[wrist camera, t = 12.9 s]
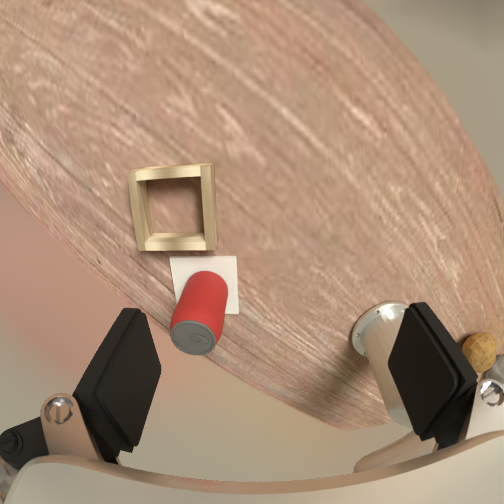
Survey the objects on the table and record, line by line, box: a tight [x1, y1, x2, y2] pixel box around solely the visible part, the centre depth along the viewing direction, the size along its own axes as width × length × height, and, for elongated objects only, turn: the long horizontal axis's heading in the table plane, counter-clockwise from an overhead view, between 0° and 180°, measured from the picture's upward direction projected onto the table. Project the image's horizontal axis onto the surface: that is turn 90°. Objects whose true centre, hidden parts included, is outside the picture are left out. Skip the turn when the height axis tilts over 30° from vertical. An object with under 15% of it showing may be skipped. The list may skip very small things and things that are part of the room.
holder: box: [127, 163, 218, 251], centre depth 37 cm, size 11×11×4 cm
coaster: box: [169, 256, 239, 314], centre depth 44 cm, size 10×10×1 cm
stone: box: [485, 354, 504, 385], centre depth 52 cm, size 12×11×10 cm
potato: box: [462, 332, 496, 373], centre depth 46 cm, size 10×14×8 cm
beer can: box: [170, 271, 228, 355], centre depth 38 cm, size 7×7×12 cm
